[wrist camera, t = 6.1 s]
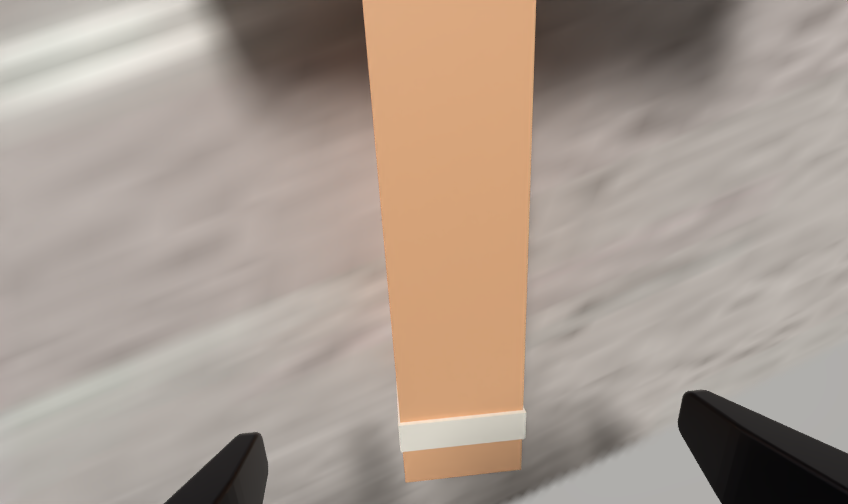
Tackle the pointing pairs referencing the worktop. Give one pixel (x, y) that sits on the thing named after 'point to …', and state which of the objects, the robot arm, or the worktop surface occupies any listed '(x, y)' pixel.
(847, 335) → the worktop surface
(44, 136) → the worktop surface
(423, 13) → the tan banded carton
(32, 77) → the worktop surface
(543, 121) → the worktop surface
